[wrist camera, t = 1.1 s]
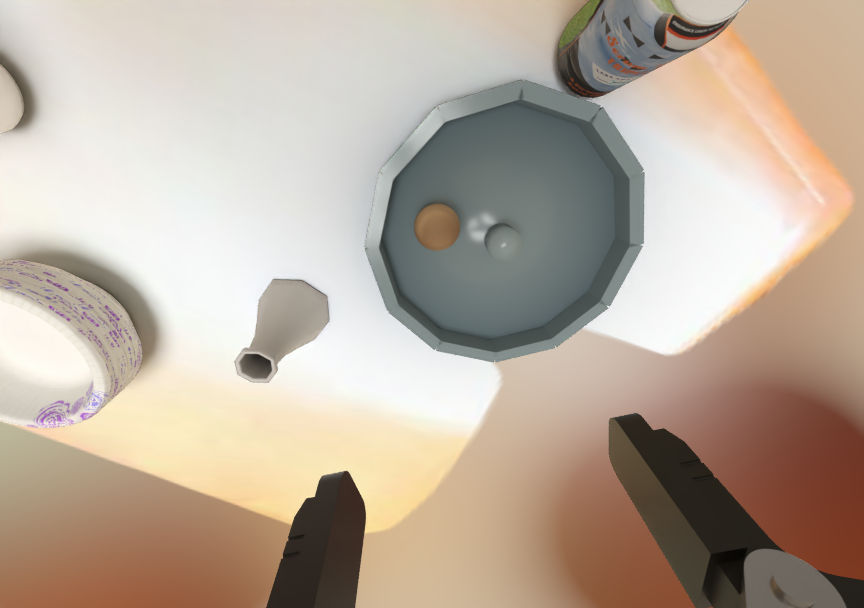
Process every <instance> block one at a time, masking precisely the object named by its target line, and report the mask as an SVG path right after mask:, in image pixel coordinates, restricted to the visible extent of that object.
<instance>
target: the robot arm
mask: <svg viewBox="0 0 864 608" xmlns="http://www.w3.org/2000/svg"><path fill="white" fill-rule="evenodd" d="M609 457H610V461H611V464H612V466H613V469H614V471H615V473H616V475H617V476H618V478H619V480H620V482H621V483H622V485H623V486H624V488H625V490H626V491H627V493H628V495H629V497H630V498H631V500H632V502H633V503H634V505H635V507H636V508H637V510H638V512H639V513H640V515H641V517H642V518H643V520H644V522H645V523H646V525H647V527H648V529H649V530H650V532H651V534H652V535H653V537H654V539H655V540H656V542H657V544H658V545H659V547H660V549H661V550H662V552H663V554H664V555H665V557H666V559H667V560H668V562H669V564H670V565H671V567H672V569H673V570H674V572H675V574H676V575H677V577H678V579H679V581H680V582H681V584H682V586H683V587H684V589H685V591H686V592H687V594H688V595H689V597H690V599H691V601H692V602H693V604H694V606H695V607H696V608H708V607H713V608H864V580H859V579H853V578H847V577H841V576H836V575H831V574H828V573H824V572H822V571H819V570H816V569H815V568H813V567H812V566H810V565H809V564H807V563H806V562H804V561H802V560H800V559H799V558H797V557H795V556H793V555H790V554H788V553H786V552H785V551H783V550H782V549H781V548H780V547H778V546H777V545H776V544H775V543H774V542H773V541H772V540H771V539H770V538H769V537H768V536H767V535H766V533H765V532H764V531H763V530H762V529H761V528H760V527H759V526H758V524H757V523H756V522H755V521H754V520H753V519H752V518H751V517H750V515H749V514H748V513H747V512H746V511H745V510H744V509H743V507H742V506H741V505H740V504H739V503H738V502H737V501H736V500H735V498H734V497H733V496H732V495H731V494H730V493H729V492H728V491H727V489H726V488H725V487H724V486H723V485H722V484H721V483H720V481H719V480H718V479H717V478H715V477H714V476H713V473H712V472H711V471H710V470H709V469H708V468H707V467H706V466H705V465H704V463H701V461H700V459H699V458H698V456H697V455H696V454H695V453H694V452H693V451H692V450H691V449H690V447H689V446H688V445H687V444H686V443H685V442H684V441H683V440H681V439H679V438H678V437H676V436H675V435H673V434H672V433H670V432H669V431H667V430H666V429H658V430H652V429H651V427H650V426H649V425H648V424H647V422H646V421H645V420H644V418H643V417H642V416H641V415H639V414H637V413H634V414H629V415H624V416H619V417H615V418H610V420H609ZM365 523H366V511H365V505H364V501H363V499H362V497H361V495H360V493H359V491H358V489H357V487H356V485H355V483H354V481H353V479H352V477H351V475H350V474H349V472H348V471H343V472H338V473H333V474H328V475H324V476H322V477H321V479H320V481H319V484H318V487H317V491H316V495H315V497H312V498H307V499H306V500H305V502H304V503H303V505H302V506H301V508H300V509H299V511H298V512H297V514H296V516H295V517H294V520H293V523H292V527H291V530H290V533H289V536H288V538H289V540H288V541H287V543H286V546H285V549H284V552H283V559H281V562H280V565H279V569H278V572H277V575H276V578H275V581H274V584H273V588H272V591H271V594H270V597H269V601H268V604H267V607H266V608H355V603H356V595H357V586H358V579H359V571H360V563H361V554H362V547H363V539H364V531H365Z"/></svg>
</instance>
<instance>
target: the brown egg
mask: <svg viewBox="0 0 864 608" xmlns="http://www.w3.org/2000/svg"><path fill="white" fill-rule="evenodd" d="M414 232H415V235H416V238H417V240H418V241H419V242H420V244H421V245H423V246H424V247H425V248H427V249H430V250H434V251H440V250H444V249H447V248H449V247H450V246H452V245H453V244H454V243H455V241H456V240H457V238H458V236H459V233H460V221H459V218H458V216H457V214H456V213H455V212H454V210H453V209H451V208H450V207H449V206H447V205H444V204H439V203H436V204H430V205H428V206H426V207H424V208H423V209H422V210H421V211H420V212H419V213H418V215H417V217H416V219H415V222H414Z"/></svg>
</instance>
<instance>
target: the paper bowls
mask: <svg viewBox="0 0 864 608" xmlns="http://www.w3.org/2000/svg"><path fill="white" fill-rule="evenodd" d="M142 355H143V353H142V345H141V341H140V339H139V337H138V335H137V332H136V330H135V328H134V326H133V323H132V321H131V319H130V317H129V315H128V313H127V312H126V310H125V309H124V308H123V306H122V305H121V304H120V303H119V302H118V301H117V300H116V299H115V298H114V297H112V296H111V295H110V294H109V293H107V292H106V291H104V290H103V289H101V288H100V287H98V286H96V285H94V284H92V283H90V282H88V281H85V280H83V279H81V278H79V277H77V276H75V275H73V274H71V273H69V272H67V271H64V270H62V269H59V268H56V267H52V266H49V265H45V264H40V263H36V262H31V261H25V260H0V421H2V422H6V423H10V424H14V425H20V426H26V427H36V428H53V427H65V426H67V425H72V424H75V423H79V422H81V421H84V420H86V419H89V418H90V417H92V416H94V415H95V414H96V413H98V411H100V410H101V409H102V408H103V407H104V406H105V405H106V404H107V403H109V402H110V401H111V400H112V399H113V398H114V397H115V396H116V395H118V394H119V393H120V392H121V391H122V390H123V389H124V388H125V387H126V386H127V385H128V384H129V383H130V382H131V381H132V380H133V379H134V377H135V376H136V374H137V373H138V371H139V369H140V366H141V362H142Z"/></svg>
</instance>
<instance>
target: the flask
mask: <svg viewBox="0 0 864 608" xmlns="http://www.w3.org/2000/svg"><path fill="white" fill-rule="evenodd" d="M328 322H329V316H328V305H327V297H326V296H325V295H323V294H321V293H320V292H318V291H317V290H315V289H314V288H312V287H311V286H309V285H308V284H306V283H305V282H303V281H294V280H272V282H271V283H270V285H269V286H268V287H267V289H266V290H265V292H264V293H263V295H262V296H261V298H260V299H259V303H258V314H257V323H256V330H255V336H254V338H253V341H252V343H251V345H250V347H249V348H244V349H243V350H242V351H241V353H240V354H239V356H238V357H237V358H236V360H235V361H234V362H235V366H236V370H237V374H238V375H239V376H241V377H243V378H245V379H247V380H249V381H251V382H257V383H269V381H270V380H271V379H272V377H273V376H274V375H275V374H276V372H277V370H278V367H277V364H278V362H279V361H280V360H281V359H282V358H283V357H284V356H285V355H287V354H289V353H291V352H292V351H294V350H296V349H297V348H299V347H301V346H303V345H305V344H307V343H309V342H311V341H313V340H314V339H315V338H316V337H317V336H318V335H319V333H320V332H321V331H322V330H323V328H324V327H325V326H326V325H327V323H328Z"/></svg>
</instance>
